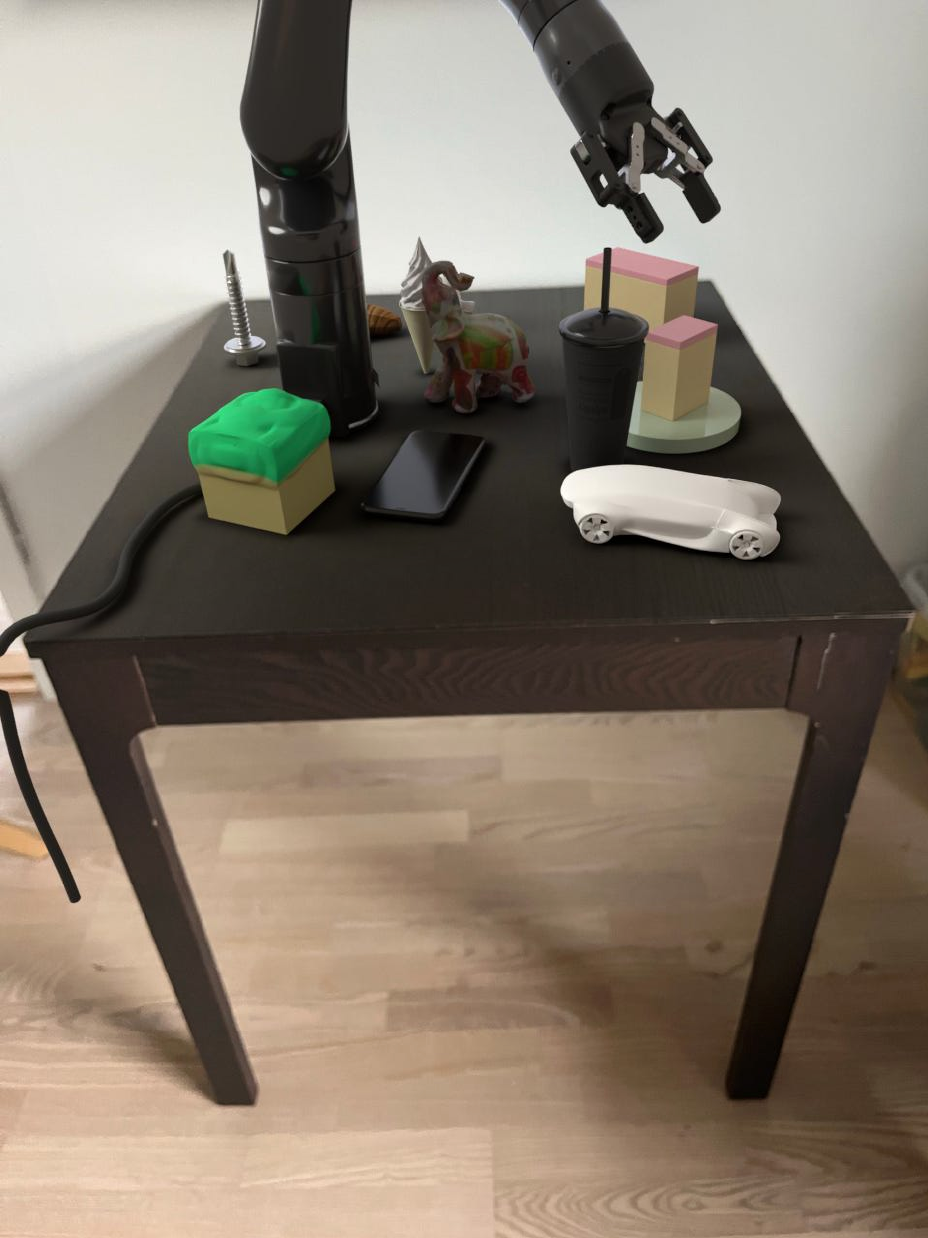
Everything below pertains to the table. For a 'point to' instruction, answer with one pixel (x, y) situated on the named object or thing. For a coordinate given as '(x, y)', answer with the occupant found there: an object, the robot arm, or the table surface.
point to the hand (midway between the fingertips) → (684, 227)
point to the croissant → (382, 320)
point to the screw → (240, 318)
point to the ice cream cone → (417, 306)
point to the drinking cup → (601, 378)
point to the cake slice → (678, 367)
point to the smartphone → (424, 476)
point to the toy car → (674, 508)
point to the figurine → (471, 345)
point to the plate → (685, 426)
